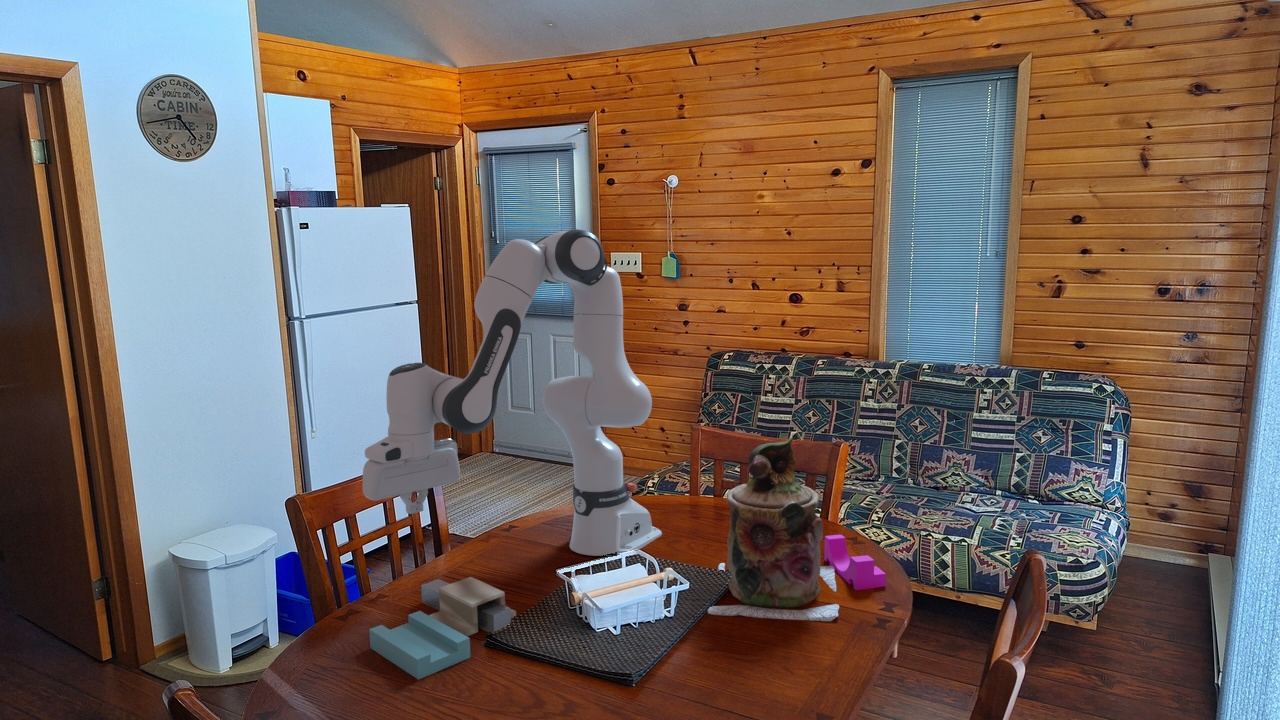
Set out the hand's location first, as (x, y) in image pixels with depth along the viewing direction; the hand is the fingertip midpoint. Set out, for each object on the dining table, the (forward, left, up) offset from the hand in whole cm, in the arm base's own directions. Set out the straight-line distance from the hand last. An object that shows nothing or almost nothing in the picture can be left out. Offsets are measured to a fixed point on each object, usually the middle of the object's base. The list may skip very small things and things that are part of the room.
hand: (414, 512), depth 167 cm
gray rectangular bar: (0, +16, -17) cm, 24 cm away
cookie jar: (-46, +55, -17) cm, 74 cm away
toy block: (-63, +63, -17) cm, 91 cm away
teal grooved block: (+14, +23, -17) cm, 32 cm away
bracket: (0, +19, -17) cm, 25 cm away
